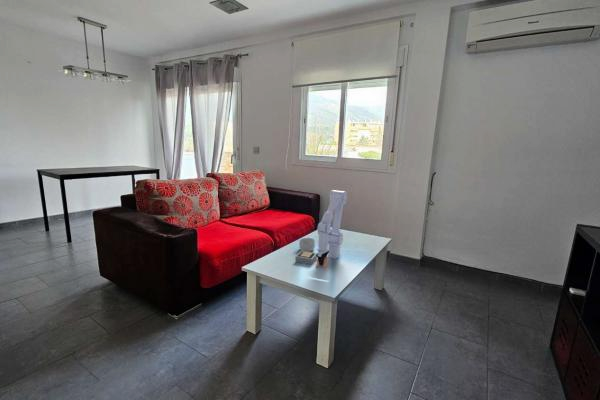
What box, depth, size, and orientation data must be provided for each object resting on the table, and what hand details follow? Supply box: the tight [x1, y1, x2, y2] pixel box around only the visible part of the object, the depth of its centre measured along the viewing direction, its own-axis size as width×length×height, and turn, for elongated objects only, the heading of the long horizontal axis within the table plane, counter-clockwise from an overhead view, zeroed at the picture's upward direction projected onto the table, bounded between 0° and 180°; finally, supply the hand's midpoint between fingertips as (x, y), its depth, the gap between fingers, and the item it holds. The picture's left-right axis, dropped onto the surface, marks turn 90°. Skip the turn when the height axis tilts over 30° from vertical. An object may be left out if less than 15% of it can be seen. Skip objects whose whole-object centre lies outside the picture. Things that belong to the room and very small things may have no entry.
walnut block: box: [300, 252, 314, 259], centre depth 175 cm, size 6×6×4 cm
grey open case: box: [298, 236, 316, 252], centre depth 195 cm, size 14×11×8 cm
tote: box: [294, 250, 318, 266], centre depth 175 cm, size 11×11×4 cm
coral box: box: [316, 256, 329, 268], centre depth 170 cm, size 4×6×5 cm
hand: (322, 263), depth 170 cm, fingers closed on coral box, 4 cm apart
